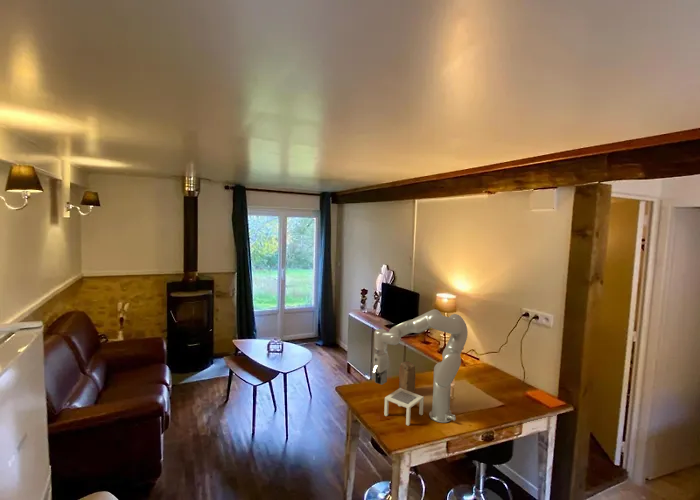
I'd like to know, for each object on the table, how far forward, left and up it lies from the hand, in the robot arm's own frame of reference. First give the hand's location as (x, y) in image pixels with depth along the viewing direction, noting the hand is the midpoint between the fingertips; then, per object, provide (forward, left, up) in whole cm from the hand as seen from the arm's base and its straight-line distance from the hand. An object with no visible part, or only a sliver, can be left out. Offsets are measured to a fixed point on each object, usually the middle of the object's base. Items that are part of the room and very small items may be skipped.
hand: (380, 380), depth 217 cm
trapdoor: (-13, -5, -8) cm, 16 cm away
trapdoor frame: (-13, -5, -17) cm, 23 cm away
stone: (0, 0, -1) cm, 1 cm away
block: (0, -29, -18) cm, 34 cm away
